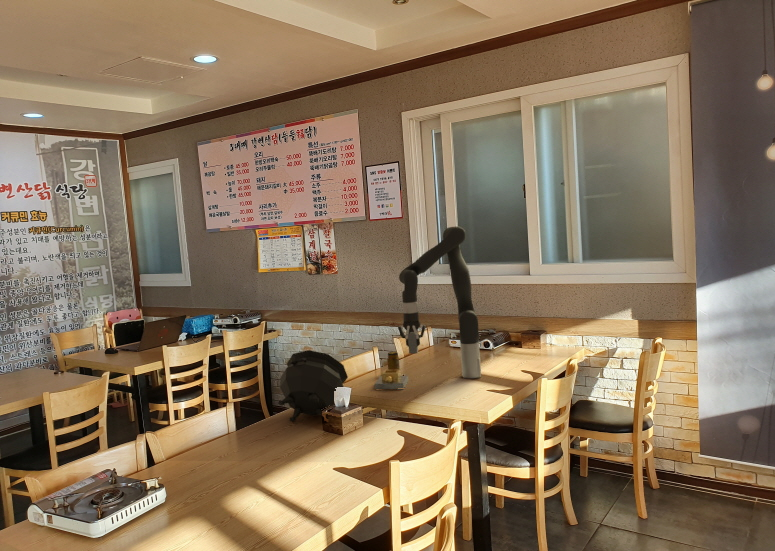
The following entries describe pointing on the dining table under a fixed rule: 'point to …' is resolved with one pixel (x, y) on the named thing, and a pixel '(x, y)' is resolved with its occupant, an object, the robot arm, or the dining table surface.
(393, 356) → the condiment
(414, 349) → the gray rectangular block
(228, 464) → the dining table surface
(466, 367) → the robot arm
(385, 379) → the square stand
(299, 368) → the cauldron
